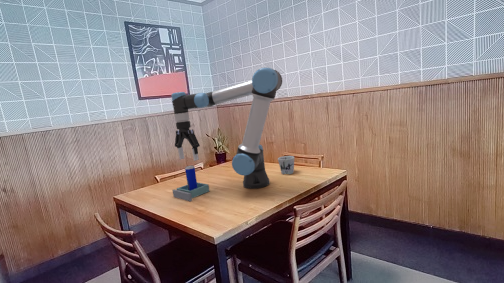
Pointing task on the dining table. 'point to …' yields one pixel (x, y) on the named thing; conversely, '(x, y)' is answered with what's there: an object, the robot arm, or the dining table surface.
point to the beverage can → (191, 177)
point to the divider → (182, 195)
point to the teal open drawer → (196, 192)
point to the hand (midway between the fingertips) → (189, 159)
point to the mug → (286, 164)
